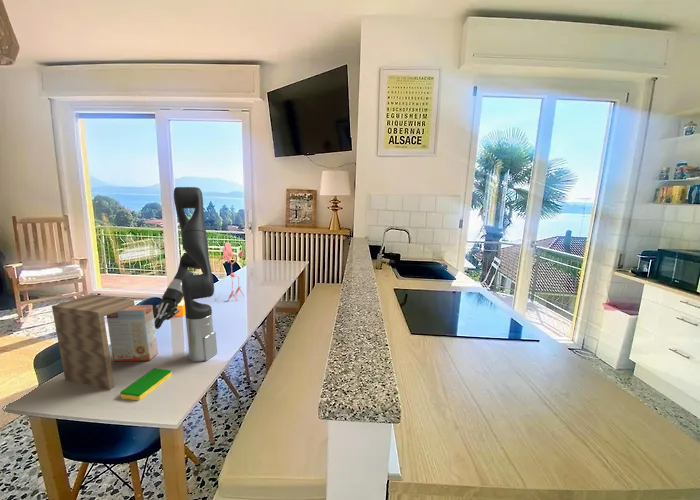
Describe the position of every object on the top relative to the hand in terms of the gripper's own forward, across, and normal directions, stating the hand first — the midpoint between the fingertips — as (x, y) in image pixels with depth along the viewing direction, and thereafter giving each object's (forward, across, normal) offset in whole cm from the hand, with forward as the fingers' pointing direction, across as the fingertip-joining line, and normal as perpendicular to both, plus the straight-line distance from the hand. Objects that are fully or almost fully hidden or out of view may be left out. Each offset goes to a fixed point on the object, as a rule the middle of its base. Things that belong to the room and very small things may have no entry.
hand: (155, 328), depth 126 cm
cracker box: (+13, 0, -1) cm, 13 cm away
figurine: (-37, -8, +48) cm, 61 cm away
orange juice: (-17, -18, +29) cm, 38 cm away
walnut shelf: (+21, 0, -10) cm, 23 cm away
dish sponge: (+22, +20, -10) cm, 31 cm away
